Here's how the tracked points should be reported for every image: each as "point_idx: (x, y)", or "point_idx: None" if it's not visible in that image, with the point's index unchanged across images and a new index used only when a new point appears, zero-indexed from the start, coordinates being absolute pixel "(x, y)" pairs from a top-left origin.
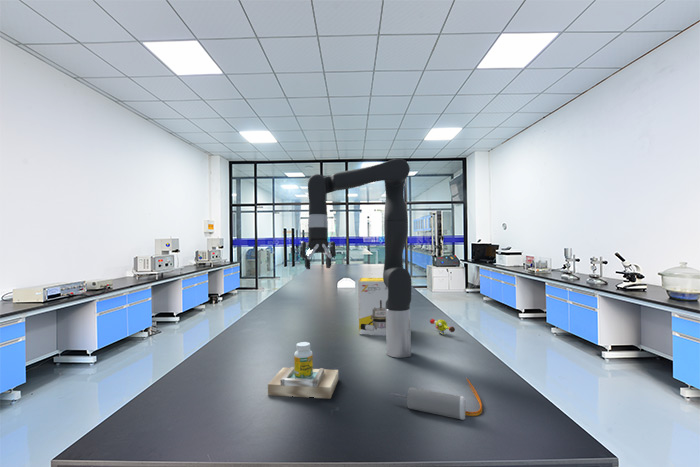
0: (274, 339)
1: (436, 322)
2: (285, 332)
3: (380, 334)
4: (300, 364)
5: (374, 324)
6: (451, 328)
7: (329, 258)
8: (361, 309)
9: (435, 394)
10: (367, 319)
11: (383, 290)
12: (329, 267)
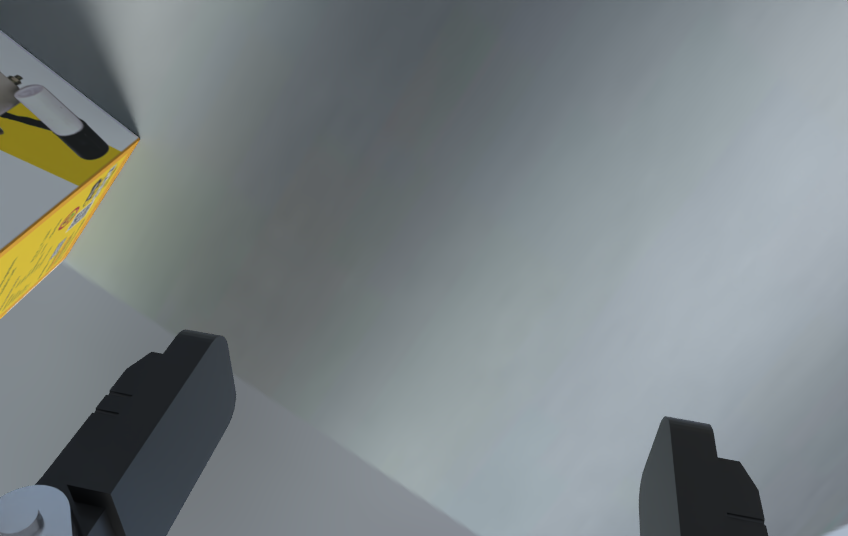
0: (588, 377)
1: None
2: (478, 425)
3: (15, 45)
4: None
5: (5, 96)
6: None
7: (73, 508)
8: (17, 209)
9: None
10: (27, 145)
11: None
12: (197, 333)
